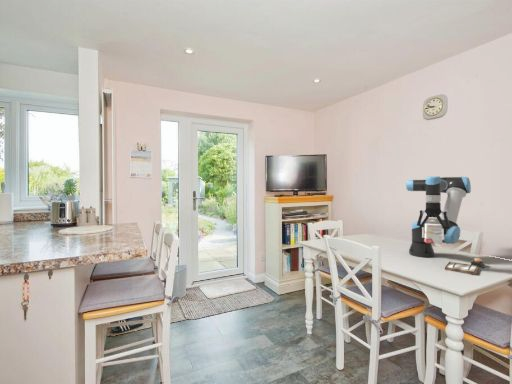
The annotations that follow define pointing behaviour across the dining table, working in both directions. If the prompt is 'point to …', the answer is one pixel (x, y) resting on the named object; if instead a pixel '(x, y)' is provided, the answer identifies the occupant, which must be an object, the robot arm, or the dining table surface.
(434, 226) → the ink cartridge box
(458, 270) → the brown divided square tray
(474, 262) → the button housing
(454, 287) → the dining table surface
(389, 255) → the dining table surface
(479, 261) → the button
